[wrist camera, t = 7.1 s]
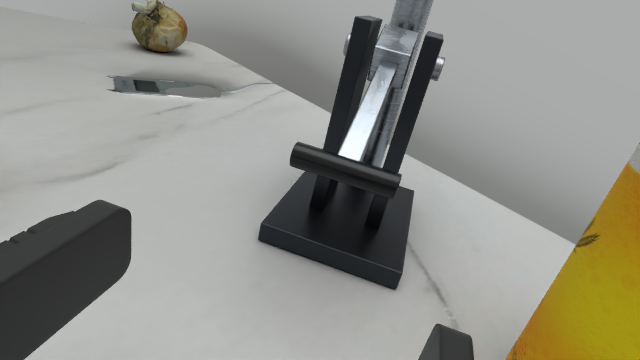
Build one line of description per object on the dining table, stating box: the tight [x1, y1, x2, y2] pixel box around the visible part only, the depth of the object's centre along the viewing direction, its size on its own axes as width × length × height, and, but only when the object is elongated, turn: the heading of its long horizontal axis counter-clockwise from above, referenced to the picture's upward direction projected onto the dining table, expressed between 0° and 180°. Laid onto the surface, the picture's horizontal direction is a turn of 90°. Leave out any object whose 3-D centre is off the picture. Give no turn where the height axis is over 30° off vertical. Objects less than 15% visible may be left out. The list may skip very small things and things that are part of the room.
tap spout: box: [362, 0, 433, 167], centre depth 32 cm, size 8×2×15 cm, turn 164°
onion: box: [132, 0, 187, 52], centre depth 61 cm, size 8×8×8 cm
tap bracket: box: [258, 16, 445, 289], centre depth 27 cm, size 12×9×14 cm
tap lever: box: [290, 24, 419, 199], centre depth 21 cm, size 12×5×2 cm, turn 164°
